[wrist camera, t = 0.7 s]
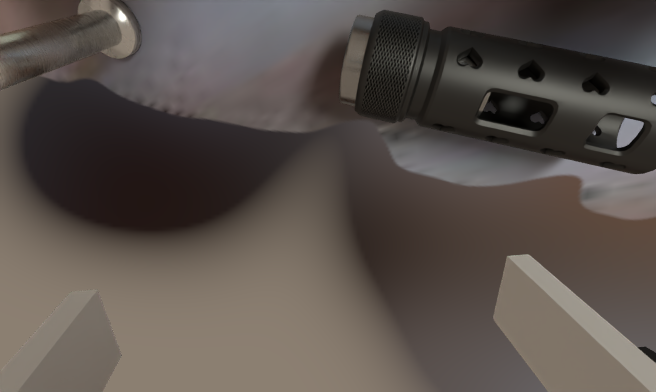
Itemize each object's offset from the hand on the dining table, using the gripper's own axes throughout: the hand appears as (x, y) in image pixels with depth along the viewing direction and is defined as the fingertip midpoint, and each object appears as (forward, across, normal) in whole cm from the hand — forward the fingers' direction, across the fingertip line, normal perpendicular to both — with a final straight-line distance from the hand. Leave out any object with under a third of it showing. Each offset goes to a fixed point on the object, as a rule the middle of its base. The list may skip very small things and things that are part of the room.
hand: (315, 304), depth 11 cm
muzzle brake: (+27, +20, +5) cm, 34 cm away
